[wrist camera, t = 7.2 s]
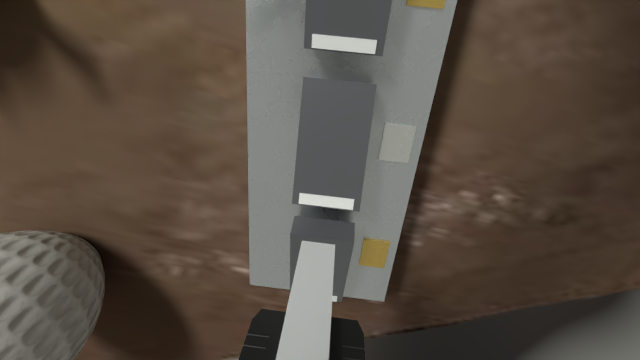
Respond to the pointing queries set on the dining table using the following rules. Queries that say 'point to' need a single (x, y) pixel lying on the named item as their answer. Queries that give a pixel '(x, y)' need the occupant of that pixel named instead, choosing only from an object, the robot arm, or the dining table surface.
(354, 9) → the switch
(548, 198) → the dining table surface
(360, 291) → the console
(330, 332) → the robot arm
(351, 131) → the switch
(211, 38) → the dining table surface
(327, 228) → the switch
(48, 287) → the vase
